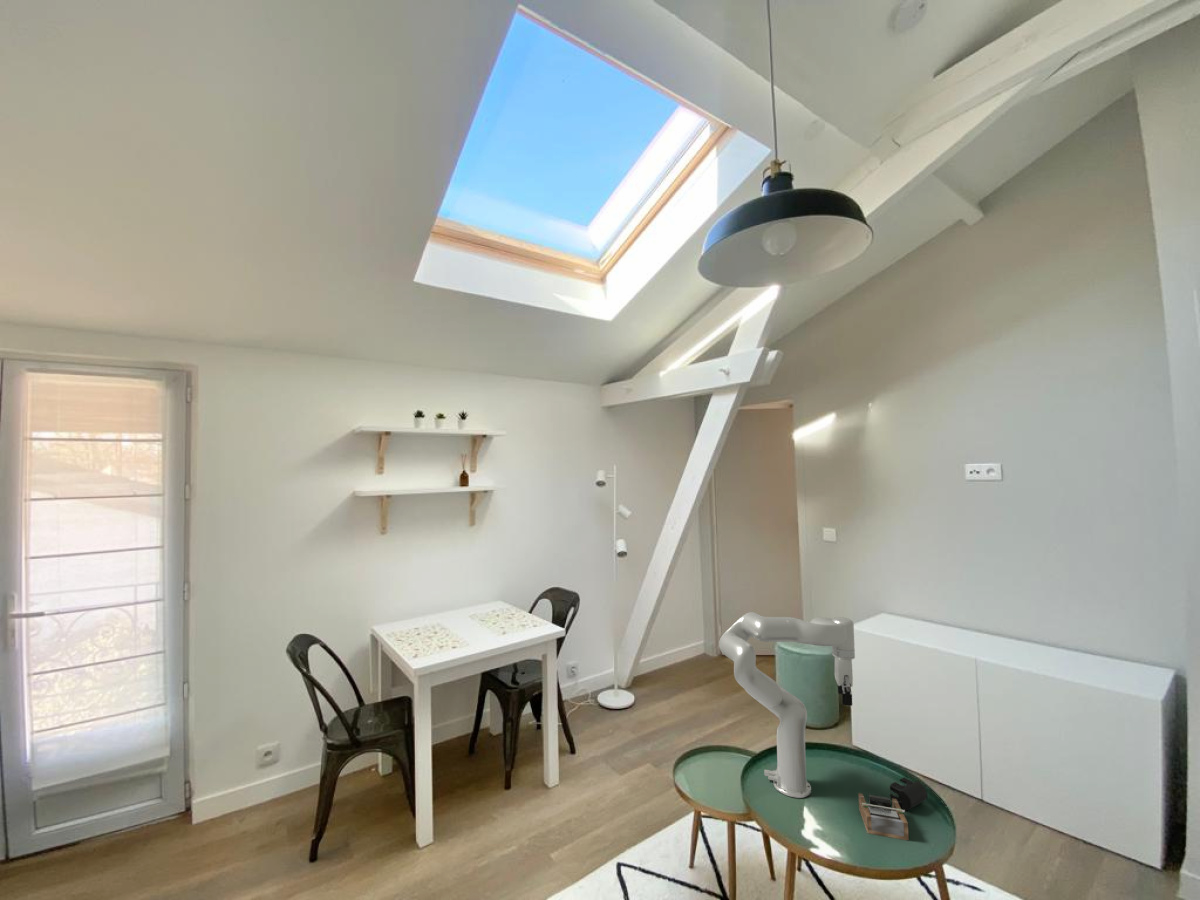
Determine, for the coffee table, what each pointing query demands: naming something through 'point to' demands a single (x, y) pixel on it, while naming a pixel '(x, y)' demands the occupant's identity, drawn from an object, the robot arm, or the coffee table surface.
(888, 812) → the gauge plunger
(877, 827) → the wood and grey box
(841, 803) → the coffee table surface
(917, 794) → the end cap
